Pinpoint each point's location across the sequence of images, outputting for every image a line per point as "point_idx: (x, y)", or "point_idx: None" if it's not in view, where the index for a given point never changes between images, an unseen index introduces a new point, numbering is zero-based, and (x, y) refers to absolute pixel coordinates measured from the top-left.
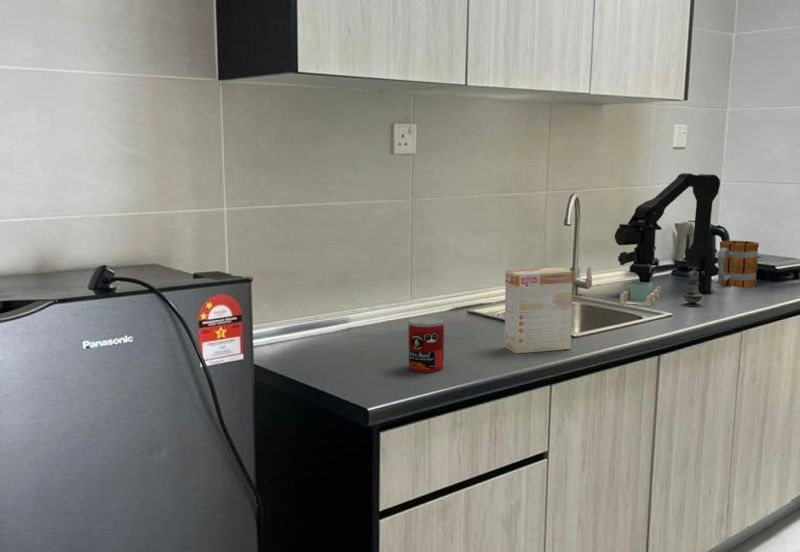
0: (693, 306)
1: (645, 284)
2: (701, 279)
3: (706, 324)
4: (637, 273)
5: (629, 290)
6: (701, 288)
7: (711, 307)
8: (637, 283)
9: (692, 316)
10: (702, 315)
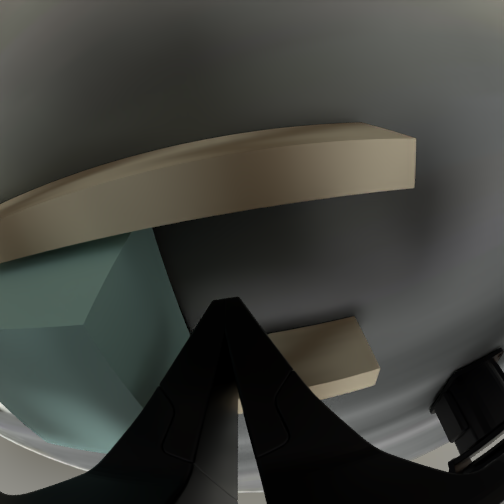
0: None
1: (52, 429)
2: (462, 435)
3: (19, 445)
4: (65, 500)
5: (2, 257)
6: (442, 413)
7: None
8: (16, 381)
9: (41, 441)
10: (71, 454)
